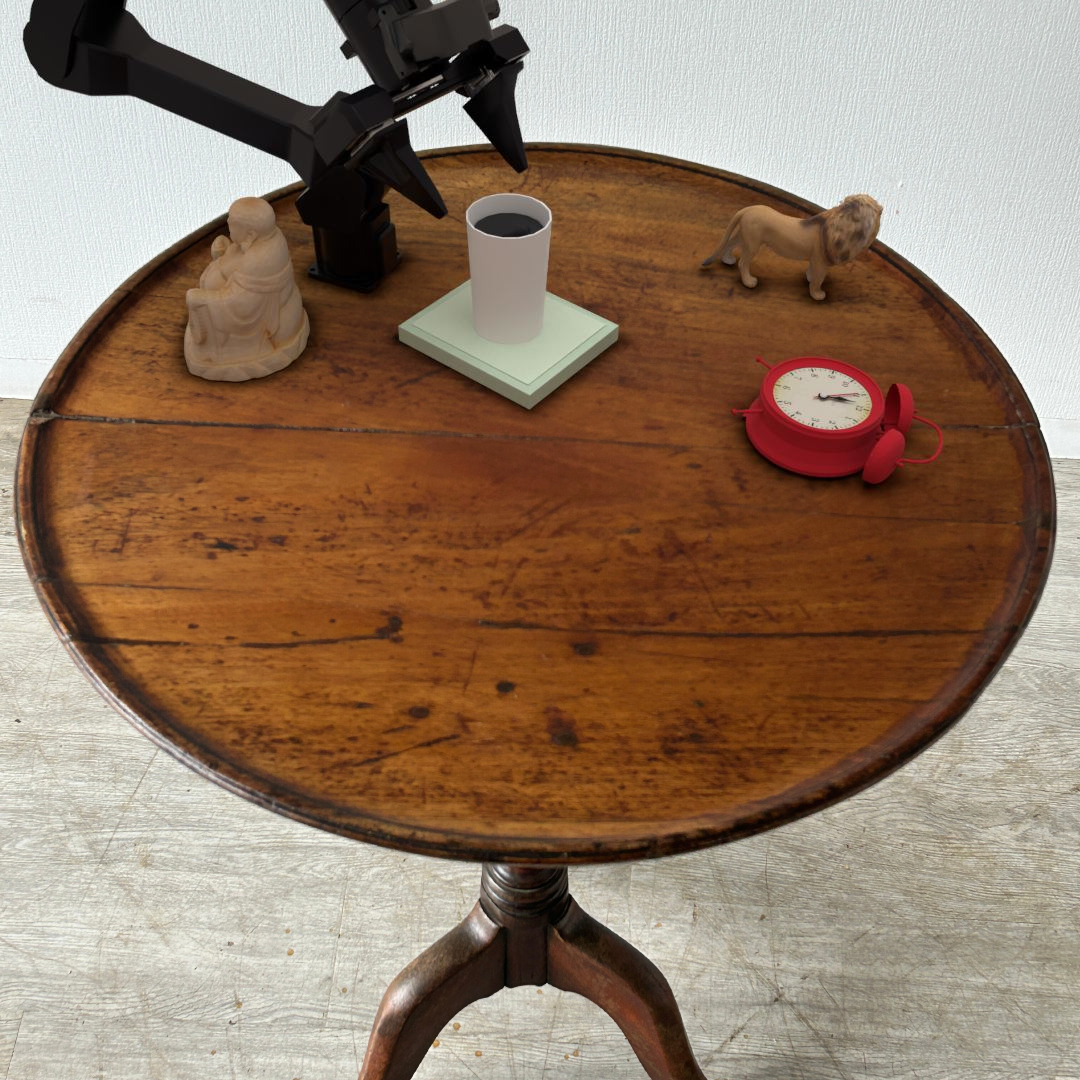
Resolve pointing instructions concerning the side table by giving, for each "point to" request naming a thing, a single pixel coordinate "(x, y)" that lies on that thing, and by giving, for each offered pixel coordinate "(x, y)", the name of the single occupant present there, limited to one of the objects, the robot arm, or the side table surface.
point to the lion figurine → (803, 237)
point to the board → (510, 345)
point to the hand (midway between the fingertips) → (485, 193)
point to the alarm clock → (831, 420)
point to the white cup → (508, 265)
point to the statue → (246, 301)
